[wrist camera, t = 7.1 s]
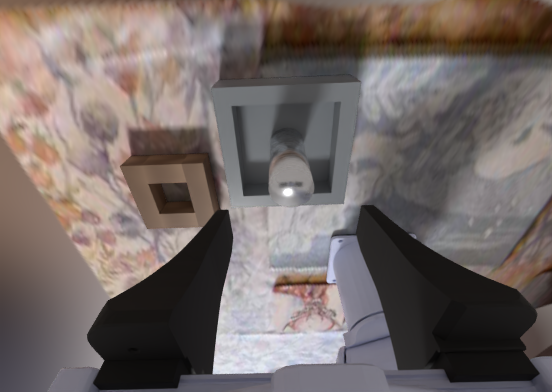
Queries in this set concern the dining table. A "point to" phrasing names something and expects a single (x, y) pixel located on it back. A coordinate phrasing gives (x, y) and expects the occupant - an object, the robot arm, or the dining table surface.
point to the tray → (286, 114)
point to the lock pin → (289, 169)
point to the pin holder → (172, 169)
